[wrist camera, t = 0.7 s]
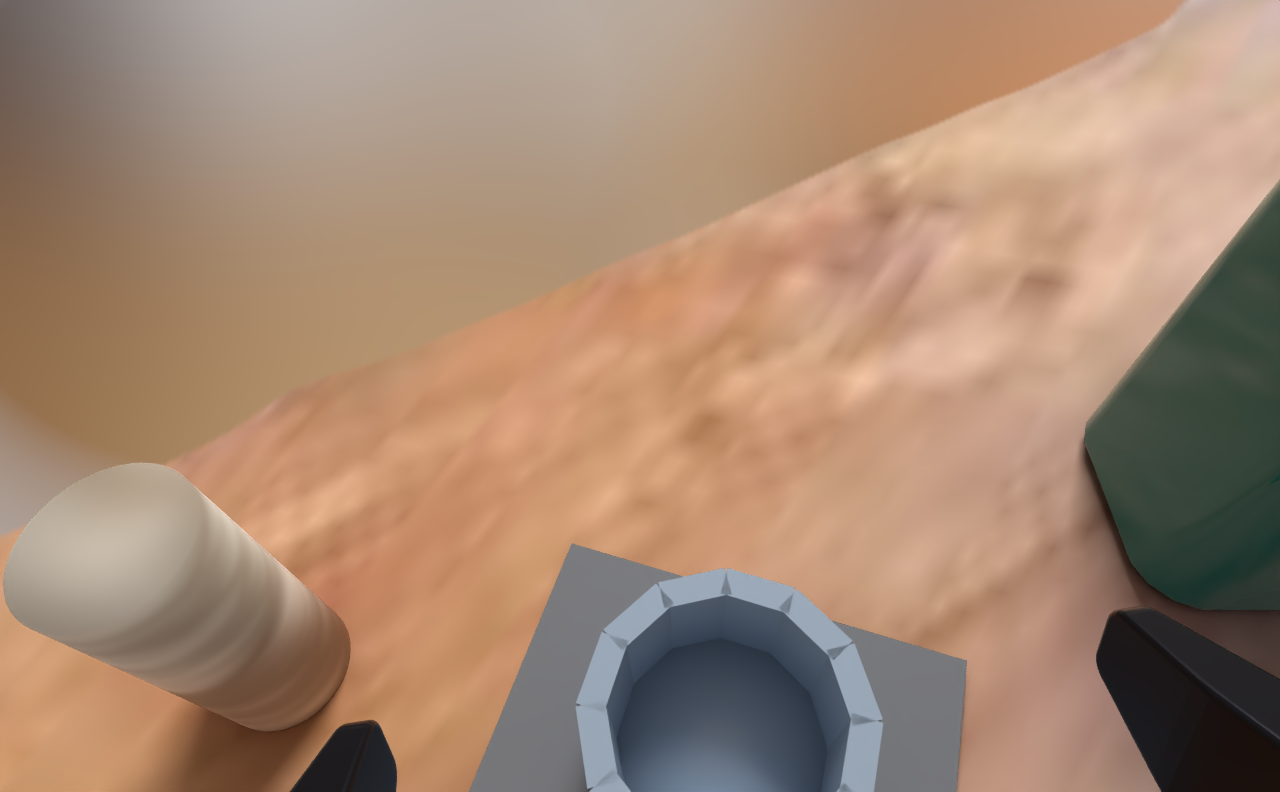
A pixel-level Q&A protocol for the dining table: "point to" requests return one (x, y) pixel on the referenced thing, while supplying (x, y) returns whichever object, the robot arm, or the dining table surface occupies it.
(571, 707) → the mat
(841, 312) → the dining table surface
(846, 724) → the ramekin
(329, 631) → the stopper
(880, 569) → the dining table surface
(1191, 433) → the green bottle
